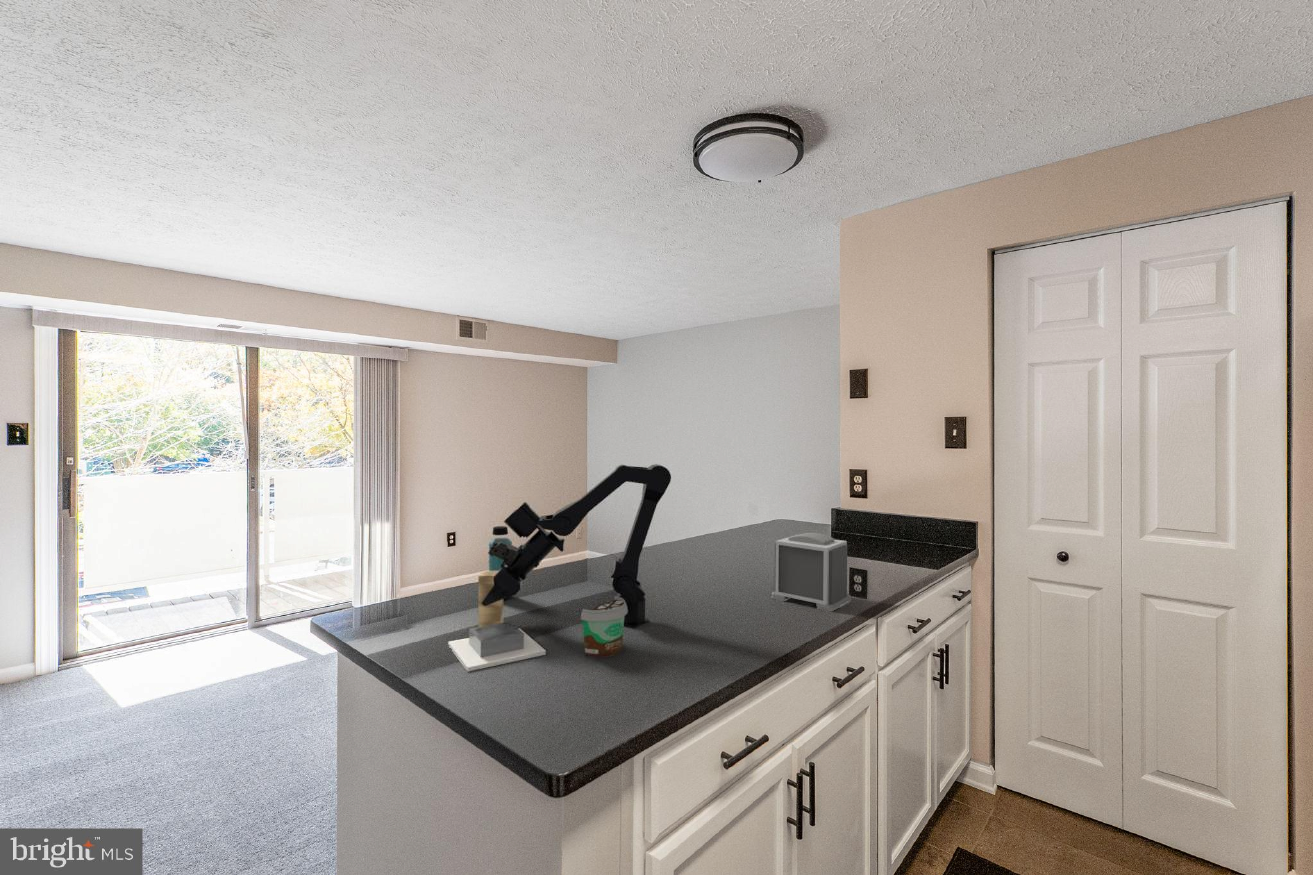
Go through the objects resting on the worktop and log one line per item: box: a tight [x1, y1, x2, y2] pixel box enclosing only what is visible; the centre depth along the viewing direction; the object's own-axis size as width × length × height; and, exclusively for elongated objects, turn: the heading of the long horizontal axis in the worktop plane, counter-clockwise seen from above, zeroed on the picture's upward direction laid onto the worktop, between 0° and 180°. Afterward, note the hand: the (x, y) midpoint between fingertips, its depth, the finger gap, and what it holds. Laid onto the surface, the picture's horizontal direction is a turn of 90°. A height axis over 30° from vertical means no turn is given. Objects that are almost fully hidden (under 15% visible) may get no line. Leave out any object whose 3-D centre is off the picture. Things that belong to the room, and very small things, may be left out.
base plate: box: [447, 627, 547, 673], centre depth 121 cm, size 16×16×1 cm
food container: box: [580, 595, 628, 658], centre depth 121 cm, size 12×6×10 cm, turn 148°
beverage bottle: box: [488, 525, 513, 571], centre depth 159 cm, size 6×7×20 cm
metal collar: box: [468, 621, 524, 658], centre depth 121 cm, size 9×9×3 cm
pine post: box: [477, 570, 504, 627], centre depth 135 cm, size 5×5×13 cm
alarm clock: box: [771, 532, 852, 608], centre depth 159 cm, size 18×13×18 cm
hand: (486, 598), depth 135 cm, fingers open, 9 cm apart
